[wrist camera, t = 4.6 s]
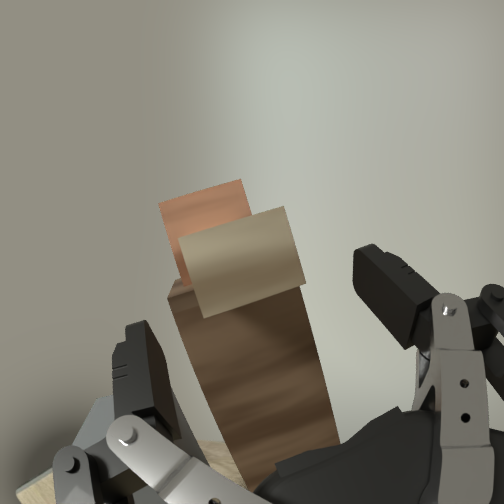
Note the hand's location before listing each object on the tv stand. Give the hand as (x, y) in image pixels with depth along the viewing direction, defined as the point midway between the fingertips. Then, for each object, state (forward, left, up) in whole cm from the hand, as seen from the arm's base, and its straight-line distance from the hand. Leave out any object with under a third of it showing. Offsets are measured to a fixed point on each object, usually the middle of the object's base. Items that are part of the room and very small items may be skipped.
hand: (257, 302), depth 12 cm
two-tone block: (+1, -8, 0) cm, 8 cm away
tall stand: (+1, -13, -32) cm, 35 cm away
